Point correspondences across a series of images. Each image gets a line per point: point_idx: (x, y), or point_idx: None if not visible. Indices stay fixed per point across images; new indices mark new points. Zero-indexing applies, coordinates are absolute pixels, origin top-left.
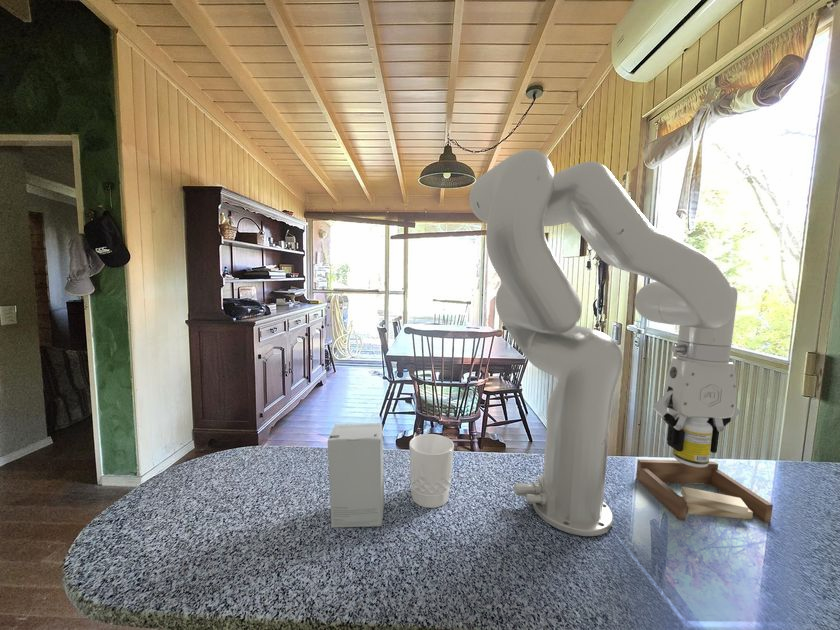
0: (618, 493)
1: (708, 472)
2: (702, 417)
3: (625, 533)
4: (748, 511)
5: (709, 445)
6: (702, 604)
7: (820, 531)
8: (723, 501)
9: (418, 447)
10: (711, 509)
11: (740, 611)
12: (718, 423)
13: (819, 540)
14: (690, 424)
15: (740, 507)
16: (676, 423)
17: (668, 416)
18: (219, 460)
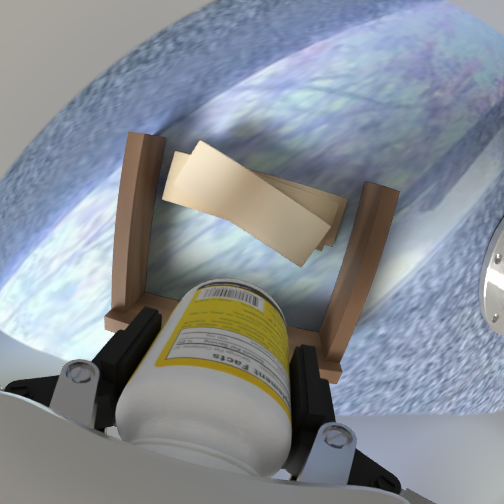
0: (413, 307)
1: (139, 311)
2: (220, 470)
3: (498, 190)
4: (185, 154)
5: (187, 323)
6: (489, 44)
7: (75, 113)
8: (245, 177)
9: None
10: (280, 182)
11: (451, 14)
12: (80, 398)
13: (107, 86)
14: (269, 443)
15: (215, 150)
16: (352, 454)
17: (391, 489)
18: None
